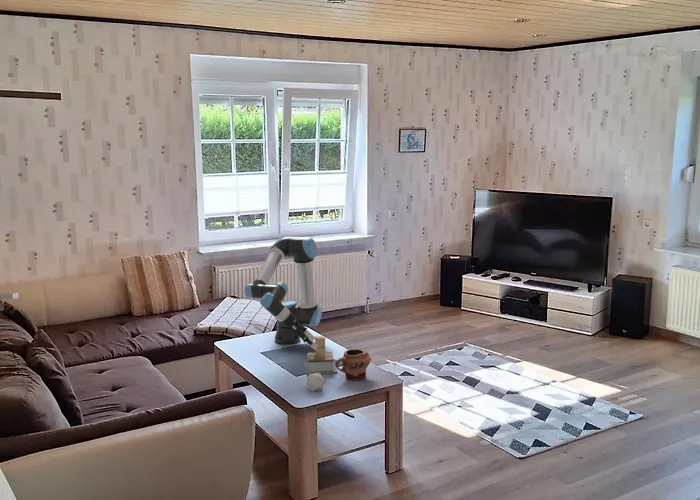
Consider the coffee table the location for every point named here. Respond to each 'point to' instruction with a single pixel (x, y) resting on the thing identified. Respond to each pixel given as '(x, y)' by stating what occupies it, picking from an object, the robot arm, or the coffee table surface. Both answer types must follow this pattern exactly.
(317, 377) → the die
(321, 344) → the wooden t-shaped block
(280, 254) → the robot arm
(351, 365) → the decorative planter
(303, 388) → the coffee table surface
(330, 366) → the square socket base
